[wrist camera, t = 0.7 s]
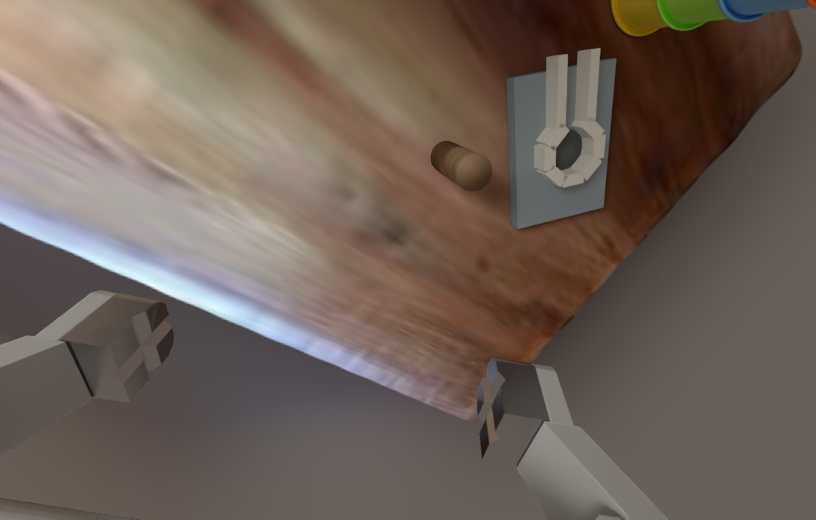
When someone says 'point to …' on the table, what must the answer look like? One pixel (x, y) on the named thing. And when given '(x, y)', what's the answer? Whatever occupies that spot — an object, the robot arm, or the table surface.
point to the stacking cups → (692, 12)
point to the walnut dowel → (461, 165)
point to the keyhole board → (521, 149)
